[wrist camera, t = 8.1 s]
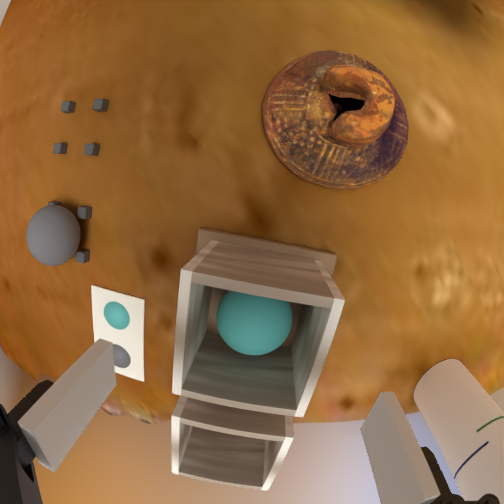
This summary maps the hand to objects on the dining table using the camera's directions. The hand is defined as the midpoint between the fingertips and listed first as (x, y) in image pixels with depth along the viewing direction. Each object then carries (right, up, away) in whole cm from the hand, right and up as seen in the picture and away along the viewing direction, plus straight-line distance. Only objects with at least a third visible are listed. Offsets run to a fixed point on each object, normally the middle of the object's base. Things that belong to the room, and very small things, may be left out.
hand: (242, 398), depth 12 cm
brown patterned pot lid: (+7, +17, +9) cm, 21 cm away
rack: (0, -2, +14) cm, 14 cm away
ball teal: (+1, +3, +11) cm, 12 cm away
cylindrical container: (+22, -9, +14) cm, 27 cm away
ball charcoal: (-17, +9, +12) cm, 23 cm away
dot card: (-13, -2, +14) cm, 20 cm away
